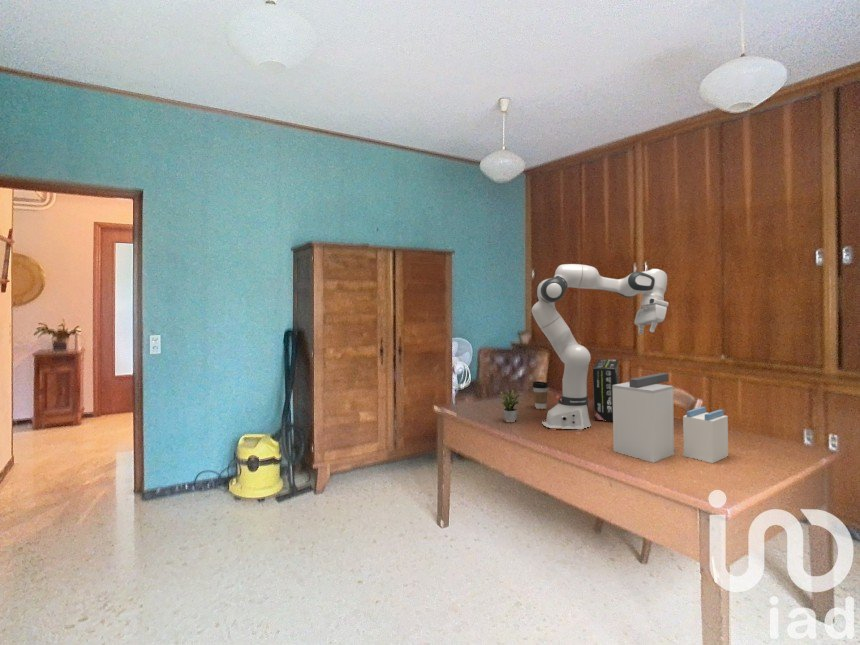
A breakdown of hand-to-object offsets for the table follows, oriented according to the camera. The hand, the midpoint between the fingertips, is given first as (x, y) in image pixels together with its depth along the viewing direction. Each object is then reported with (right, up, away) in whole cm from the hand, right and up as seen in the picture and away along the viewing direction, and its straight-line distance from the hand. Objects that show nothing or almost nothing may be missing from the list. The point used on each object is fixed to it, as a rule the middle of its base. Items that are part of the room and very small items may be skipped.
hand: (645, 333), depth 205 cm
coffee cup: (-37, -43, +45) cm, 72 cm away
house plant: (-58, -45, +18) cm, 75 cm away
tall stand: (-17, -45, -33) cm, 58 cm away
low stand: (+4, -45, -38) cm, 59 cm away
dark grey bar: (-13, -19, -31) cm, 39 cm away
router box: (-6, -43, +30) cm, 53 cm away
